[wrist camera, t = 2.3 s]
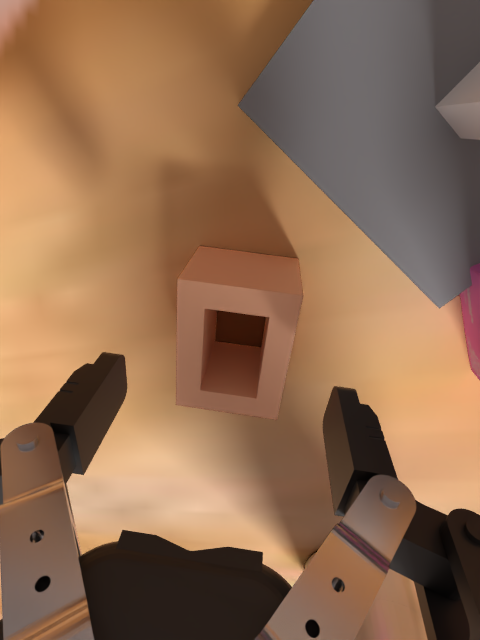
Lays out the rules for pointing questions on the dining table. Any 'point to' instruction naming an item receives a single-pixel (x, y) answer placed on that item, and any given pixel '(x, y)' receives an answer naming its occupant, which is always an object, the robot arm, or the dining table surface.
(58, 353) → the dining table surface
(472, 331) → the gum box
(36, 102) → the dining table surface
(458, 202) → the board
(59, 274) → the dining table surface
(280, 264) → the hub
